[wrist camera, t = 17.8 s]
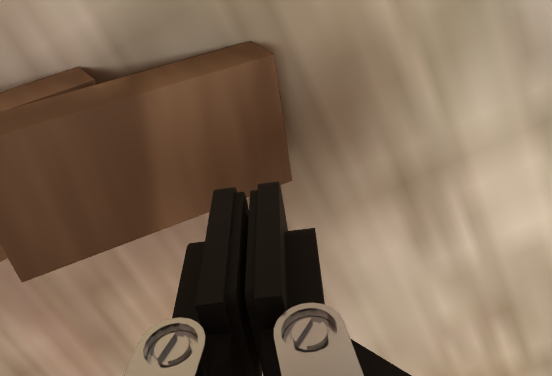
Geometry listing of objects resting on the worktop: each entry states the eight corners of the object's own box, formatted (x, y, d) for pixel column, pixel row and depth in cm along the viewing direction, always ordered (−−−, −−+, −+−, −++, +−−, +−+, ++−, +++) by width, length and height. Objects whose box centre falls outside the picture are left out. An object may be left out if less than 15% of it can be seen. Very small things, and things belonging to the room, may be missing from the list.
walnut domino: (270, 159, 21) (20, 249, 18) (250, 41, 18) (-47, 124, 16) (292, 180, 20) (21, 282, 17) (273, 54, 17) (-53, 150, 14)
